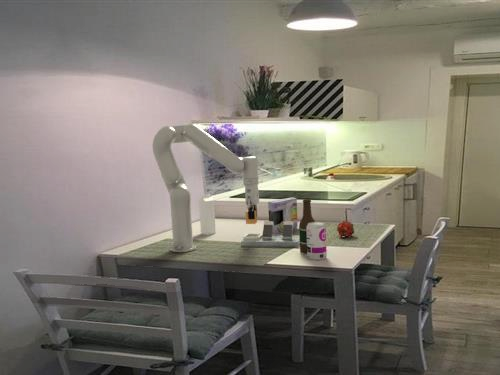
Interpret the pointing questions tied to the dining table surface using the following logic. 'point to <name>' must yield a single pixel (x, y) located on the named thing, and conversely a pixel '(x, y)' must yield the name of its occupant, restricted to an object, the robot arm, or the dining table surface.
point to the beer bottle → (305, 225)
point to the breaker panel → (269, 241)
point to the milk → (207, 215)
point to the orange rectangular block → (251, 221)
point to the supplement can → (316, 241)
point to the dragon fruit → (345, 229)
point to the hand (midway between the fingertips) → (252, 217)
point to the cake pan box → (282, 213)
